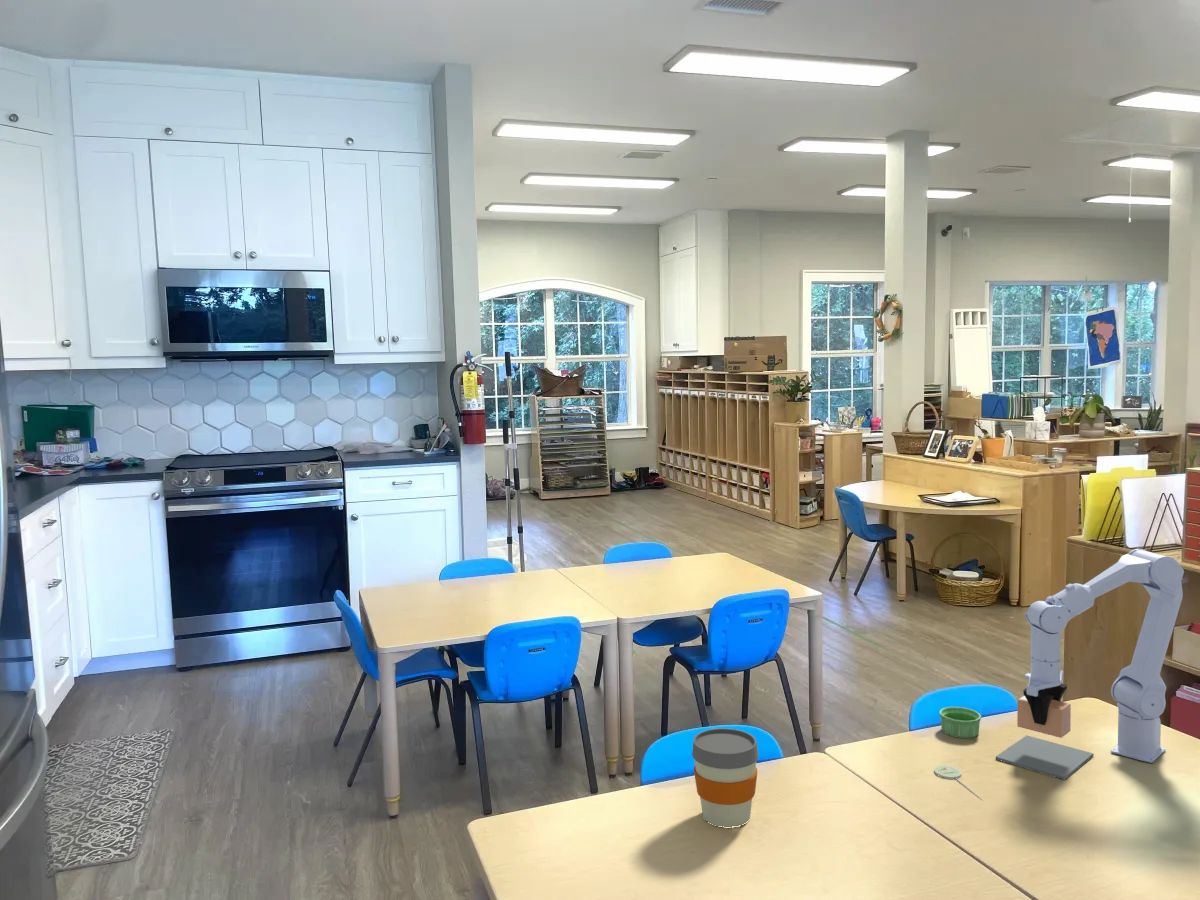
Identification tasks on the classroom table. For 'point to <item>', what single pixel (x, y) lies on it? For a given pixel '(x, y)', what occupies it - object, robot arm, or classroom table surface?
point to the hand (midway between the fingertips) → (1045, 719)
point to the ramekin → (960, 722)
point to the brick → (1055, 722)
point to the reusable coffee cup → (725, 774)
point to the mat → (1045, 756)
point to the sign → (950, 774)
